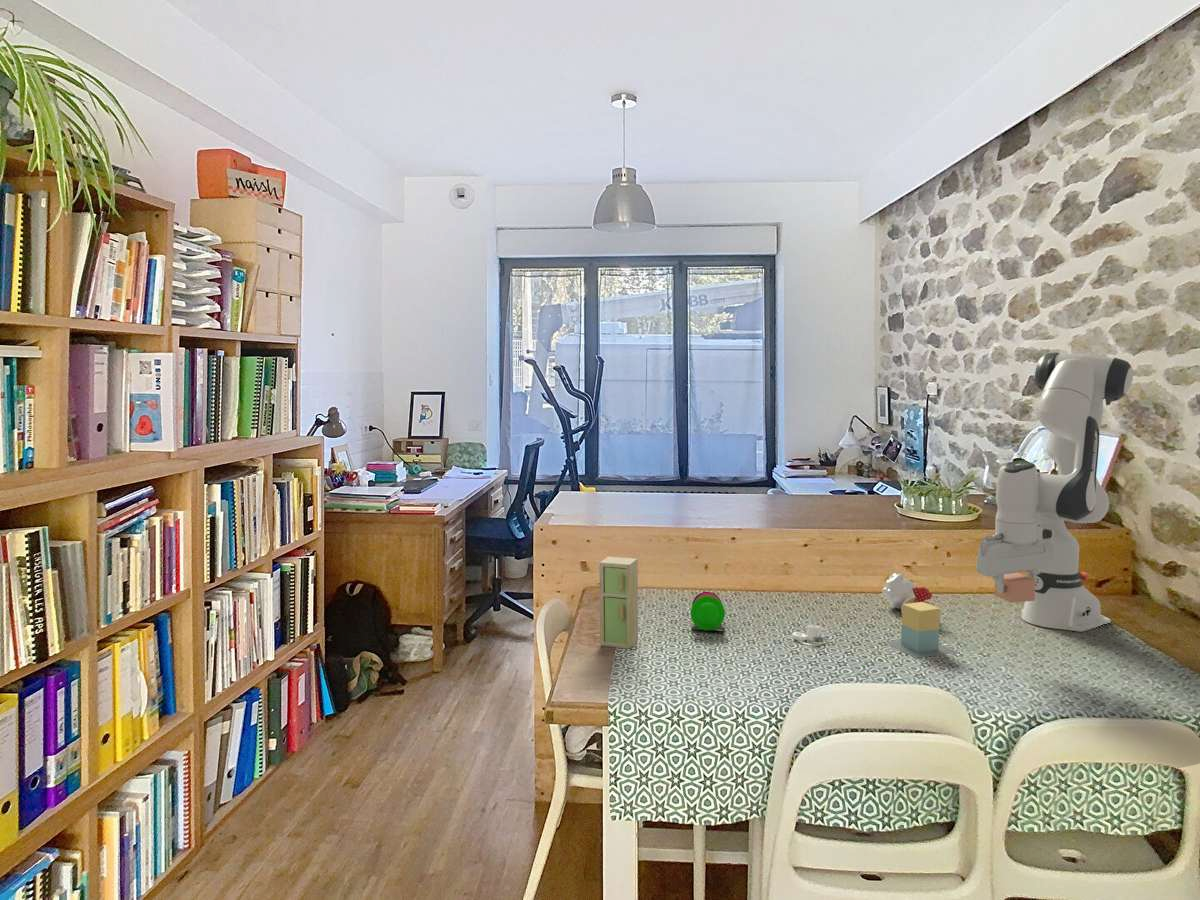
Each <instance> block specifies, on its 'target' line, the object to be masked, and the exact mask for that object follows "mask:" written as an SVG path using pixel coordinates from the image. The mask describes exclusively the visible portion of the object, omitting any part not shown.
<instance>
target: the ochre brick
mask: <svg viewBox="0 0 1200 900" xmlns="http://www.w3.org/2000/svg"><path fill="white" fill-rule="evenodd" d="M940 623H941V608H940V607H937V606H934V605H931V604H929V603H928V602H927V603H924V602H917V603H909V604H903V605H902V613H901V626H902V625H904V626H907V627H909V628H911V629H914V630H916V631H918V632H921V631H929V630H936V629H939V630H940V626H941V625H940Z"/></svg>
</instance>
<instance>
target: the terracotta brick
mask: <svg viewBox="0 0 1200 900" xmlns="http://www.w3.org/2000/svg"><path fill="white" fill-rule="evenodd" d="M1002 581H1003V583H1004V585H1007V592H1004V593H999V592H997V591H996V584H995V583H994V596H996V597H998V598H1000V599H1002V600H1004V601H1006V602H1008V603H1010V604H1011V603H1022V602H1023V603H1025V601H1035V579H1032V578H1030V577H1027V576H1026V575H1025V574H1022V573H1021V572H1017V573H1011V574H1004V579H1002Z"/></svg>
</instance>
